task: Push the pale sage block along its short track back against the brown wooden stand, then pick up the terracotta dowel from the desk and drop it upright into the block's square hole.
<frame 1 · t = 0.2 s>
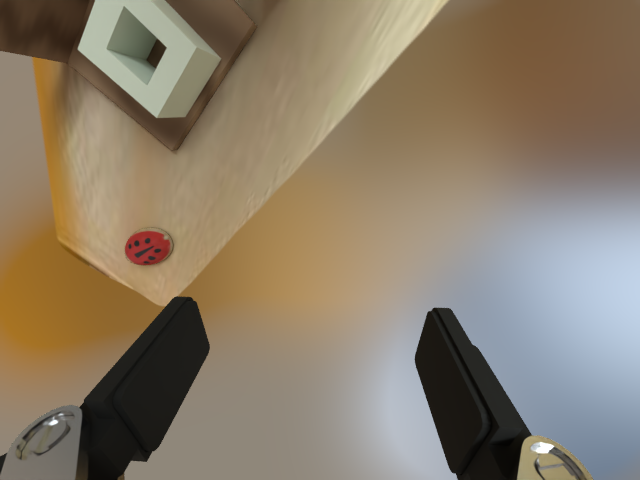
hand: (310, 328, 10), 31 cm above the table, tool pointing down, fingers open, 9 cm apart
brown wooden stand: (152, 36, 30), on the table
ladybug figurine: (154, 243, 45), on the table
sage block: (155, 54, 27), point 5 cm above the table, slide at 6.0 cm
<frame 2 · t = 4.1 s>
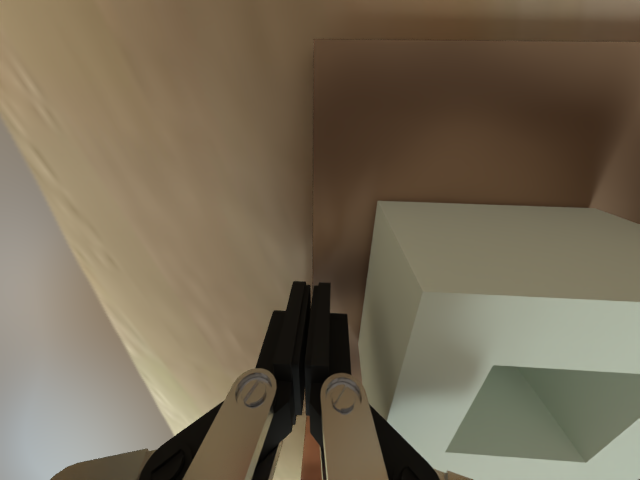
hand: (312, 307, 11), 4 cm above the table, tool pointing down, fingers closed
brown wooden stand: (471, 270, 14), on the table
sage block: (487, 336, 10), point 5 cm above the table, slide at 3.9 cm, touching gripper
dowel: (324, 407, 21), on the table
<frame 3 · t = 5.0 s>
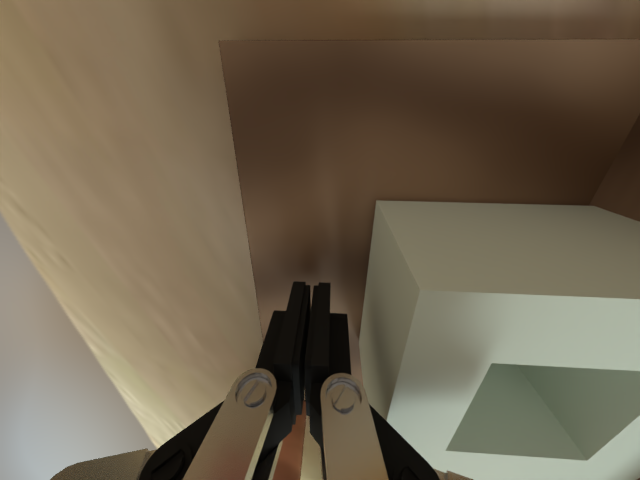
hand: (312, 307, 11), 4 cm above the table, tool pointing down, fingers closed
brown wooden stand: (414, 267, 14), on the table
sage block: (487, 334, 10), point 5 cm above the table, slide at 0.7 cm, touching gripper, brown wooden stand
dowel: (290, 405, 21), on the table
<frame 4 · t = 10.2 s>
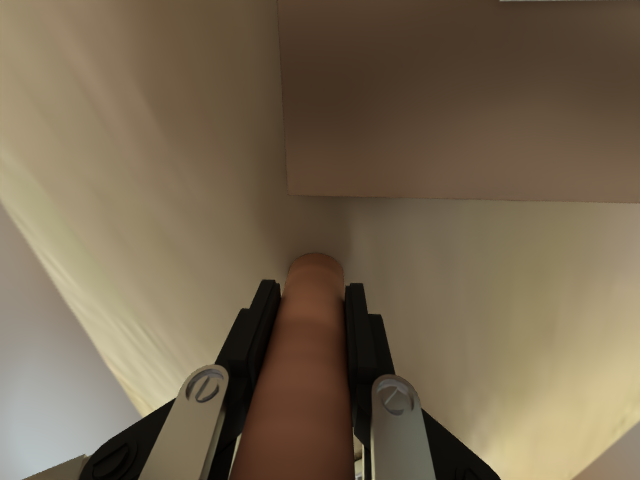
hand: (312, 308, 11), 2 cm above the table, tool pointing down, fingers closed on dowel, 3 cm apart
dowel: (316, 277, 13), on the table, touching gripper
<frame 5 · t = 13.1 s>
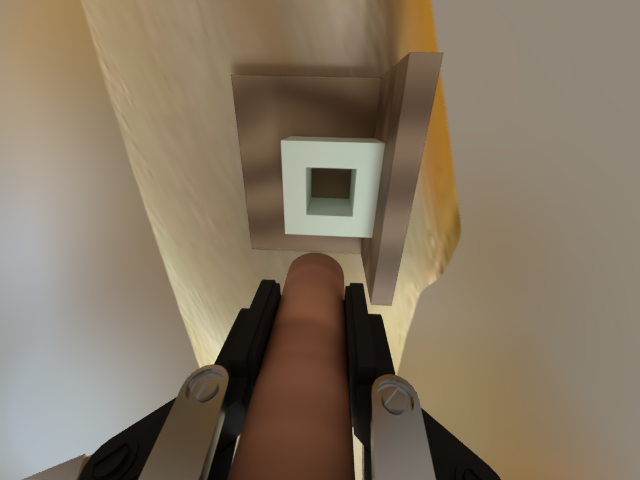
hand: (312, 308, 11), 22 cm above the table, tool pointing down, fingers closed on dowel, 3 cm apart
brown wooden stand: (319, 175, 30), on the table
sage block: (330, 185, 25), point 5 cm above the table, slide at 0.7 cm, touching brown wooden stand
dowel: (315, 276, 13), point 19 cm above the table, touching gripper
when the fingers open (8 cm above the table, at t = 16.0 s): dowel drops 1 cm, point 5 cm above the table.
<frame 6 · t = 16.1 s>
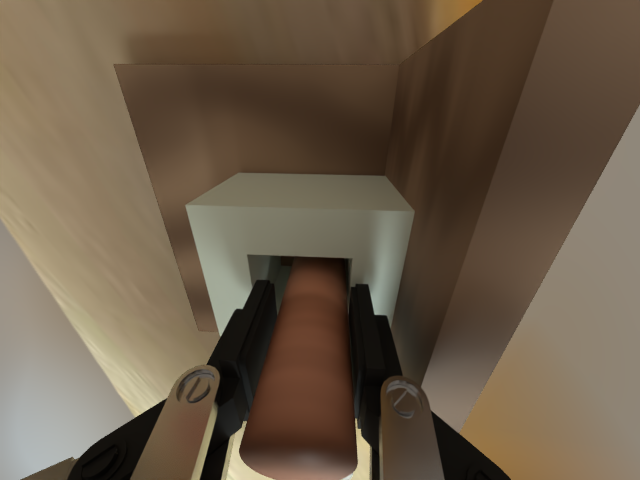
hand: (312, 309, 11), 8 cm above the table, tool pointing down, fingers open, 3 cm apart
brown wooden stand: (293, 228, 18), on the table
sage block: (307, 262, 14), point 5 cm above the table, slide at 0.7 cm, touching brown wooden stand
dowel: (319, 263, 14), point 5 cm above the table
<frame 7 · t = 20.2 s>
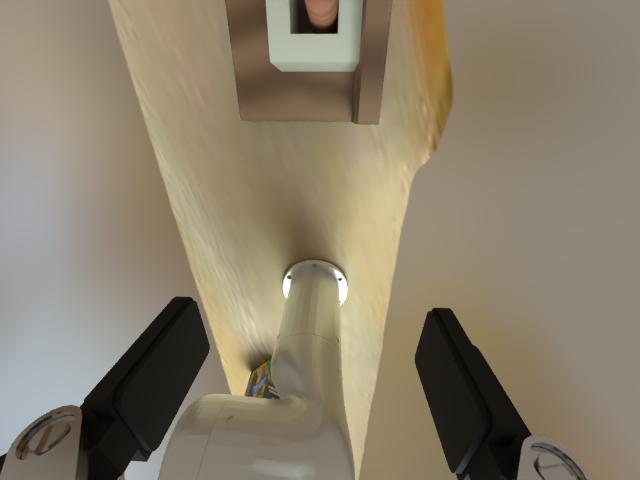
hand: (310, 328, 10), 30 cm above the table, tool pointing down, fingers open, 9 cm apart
brown wooden stand: (306, 28, 29), on the table
chalk box: (276, 371, 61), on the table
sage block: (316, 14, 25), point 5 cm above the table, slide at 0.7 cm, touching brown wooden stand
dowel: (324, 24, 27), point 2 cm above the table, touching brown wooden stand
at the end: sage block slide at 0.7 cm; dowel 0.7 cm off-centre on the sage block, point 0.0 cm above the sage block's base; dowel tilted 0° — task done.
